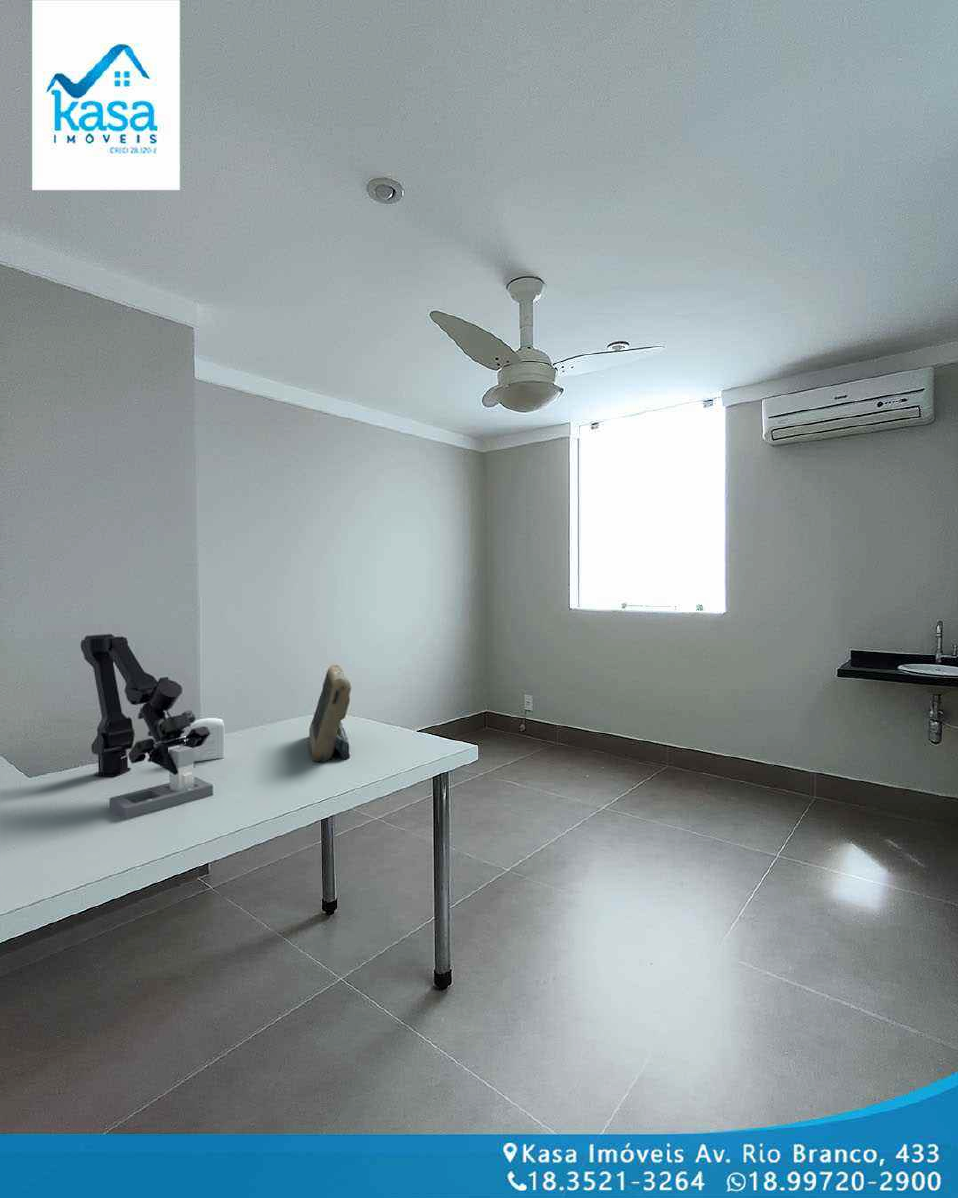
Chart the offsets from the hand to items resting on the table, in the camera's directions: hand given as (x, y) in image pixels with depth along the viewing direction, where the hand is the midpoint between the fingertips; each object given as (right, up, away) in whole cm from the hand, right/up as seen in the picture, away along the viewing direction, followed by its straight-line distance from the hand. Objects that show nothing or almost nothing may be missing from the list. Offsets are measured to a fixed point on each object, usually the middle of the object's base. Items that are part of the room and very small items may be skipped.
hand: (185, 771), depth 147 cm
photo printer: (-9, -6, +31) cm, 33 cm away
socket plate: (-4, -7, -3) cm, 8 cm away
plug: (-1, -7, +1) cm, 7 cm away
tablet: (+25, -6, +45) cm, 51 cm away
